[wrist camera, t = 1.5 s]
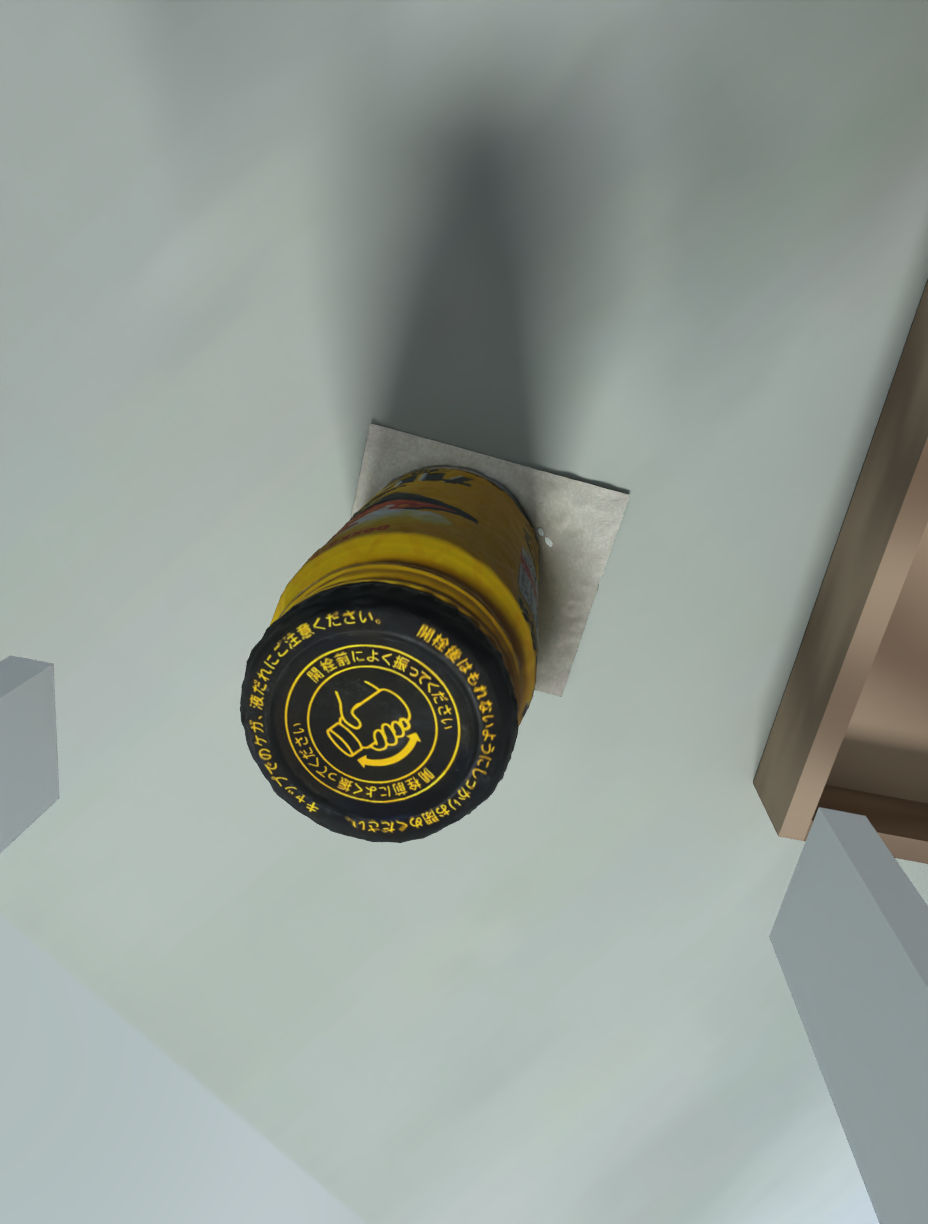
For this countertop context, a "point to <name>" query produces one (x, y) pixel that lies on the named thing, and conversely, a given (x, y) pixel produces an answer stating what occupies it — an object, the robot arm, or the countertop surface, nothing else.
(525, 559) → the condiment
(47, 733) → the robot arm
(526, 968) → the countertop surface
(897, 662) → the caddy
